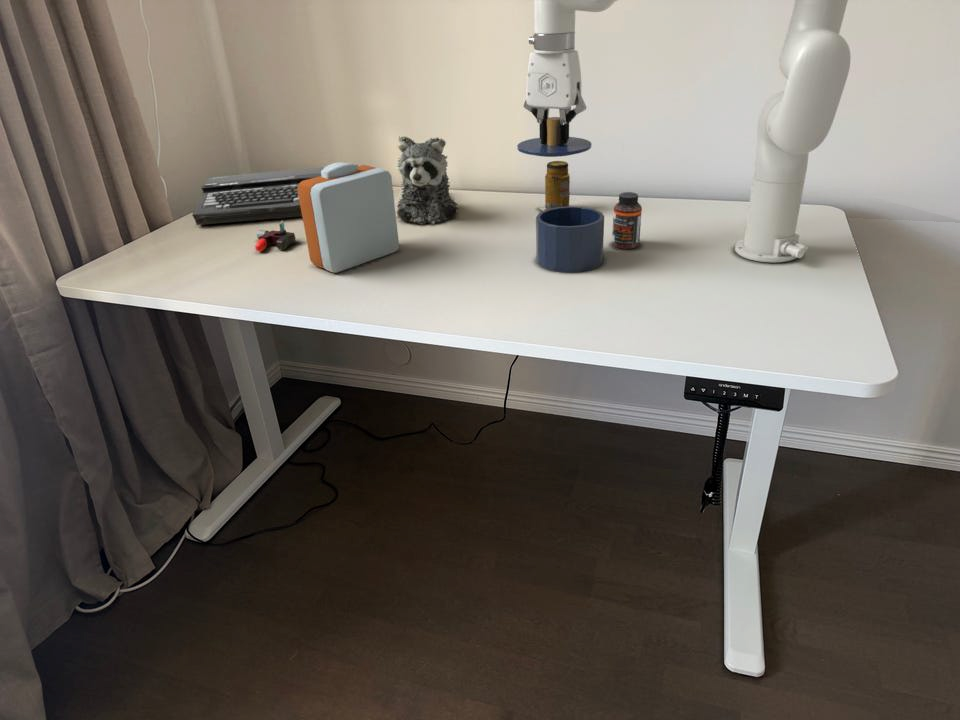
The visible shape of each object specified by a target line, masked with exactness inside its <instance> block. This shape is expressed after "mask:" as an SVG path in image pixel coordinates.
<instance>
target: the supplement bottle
mask: <svg viewBox="0 0 960 720" xmlns="http://www.w3.org/2000/svg"><path fill="white" fill-rule="evenodd" d="M642 212H643V207H642V204H640V203H639V194H638V193H636V192H632V191H624V192H620V193H619V194H618V202H617V203H615V205H614V206H613V212H612V213H613V214H612V232H611V233H612V235H611V244H612V246H613V247H615V248H617V249H621V250H631V249H635V248H637V247H639V245H640V240H641V225H642Z"/></svg>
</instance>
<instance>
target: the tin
mask: <svg viewBox="0 0 960 720" xmlns="http://www.w3.org/2000/svg"><path fill="white" fill-rule="evenodd" d="M604 233H605V215H604V214H603V212H602V211H600V210H597V209H596V208H590V207H585V206H572V205H569V206H568V207H557V208H552V209H547V210H545V211H540V212H539V213H537V215H536V216H535V241H536V242H535V243H536V245H535V246H536V247H535V248H536V249H535V250H536V253H535V255H536V262H537V265H539V266H540V267H541V268H543V269H545V270H548V271H551V272H557V273H580V272H587V271H590V270H593V269H595V268H598V267H599V266H600V265H601V264H602V263H603V257H604V236H605V234H604Z"/></svg>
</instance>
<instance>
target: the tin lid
mask: <svg viewBox="0 0 960 720" xmlns="http://www.w3.org/2000/svg"><path fill="white" fill-rule="evenodd" d="M558 125H560V116H551V117H550V116H549V118H547V143H546V144H541V139H540V137H534V138H529V139H526V140H523V141H520V142H519V143H518V144H517V146H516V148H517V149H516V150H517V151H518V152H520V153H522V154H525V155H528V156H529V155H530V156H536V157H544V158H549V157H550V158H557V157H558V158H559V157H567V156H568V157H569V156H572V155H577V154H581V153H585V152H588V151H589V150H590V149H592V142H591V141H590V140H588V139H585V138H582V137H577V136H576V137H575V136H569V139H568V141H567V143H566V144H564V145H562V146H559V145H558Z"/></svg>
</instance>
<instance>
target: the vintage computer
mask: <svg viewBox="0 0 960 720" xmlns="http://www.w3.org/2000/svg"><path fill="white" fill-rule="evenodd" d="M356 165H357V166H359V165H358V164H356ZM325 167H326V166H321V167H320V166H319V167H308V168H295V169H286V170H275V171H265V172H264V171H263V172H253V173H244V174H232V175H223V176H215V177H214V176H213V177H207V179H206V180H205V182H204V183H203V185H201V186H200V188H201V191H202V193H201V194H200V196H199V198H198V200H197V203H196V205H195V206H194V211H193V212H192V215H191V216H192V218H193V219H194V221H195V224H196V226H201V225H213V224H224V223H226V224H227V223H238V222H248V221H262V220H263V221H264V220H271V219H272V220H273V219H274V220H275V219H285V218H286V219H287V218H299V217H302V212H301V207H300V201H299V196H298V190H297V188H298V184H299V183H300V182H302V181H303V180H307V179H311V178H315V177H319V176H322V175H321V171H322V170H323V169H324V168H325Z"/></svg>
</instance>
